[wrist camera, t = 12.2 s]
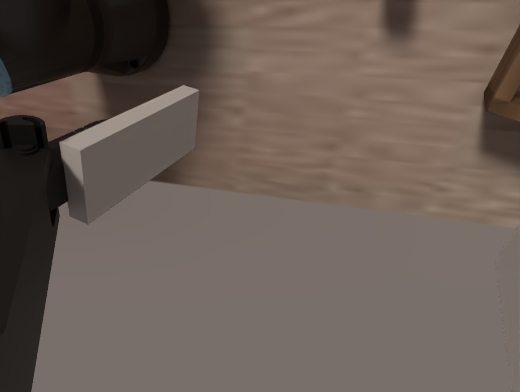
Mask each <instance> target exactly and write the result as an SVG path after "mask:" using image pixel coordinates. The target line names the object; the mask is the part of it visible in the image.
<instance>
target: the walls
mask: <svg viewBox="0 0 520 392" xmlns="http://www.w3.org/2000/svg"><path fill="white" fill-rule="evenodd" d="M519 86H520V25H519V27H518V29H517V31H516V33H515V35H514V37H513V39H512V40H511V42H510V44H509V46H508V48H507V50H506V52H505V54H504V56H503V57H502V59H501V61H500V63H499V65H498V67H497V69H496V71H495V73H494V74H493V76H492V78H491V80H490V82H489V84H488V86H487V88H486V90H485V91H484V98H485V105H486V112H490V113H493V114H496V115H499V116H502V117H505V118H509V119H512V120H515V121H518V122H520V91H517V89H518V87H519Z"/></svg>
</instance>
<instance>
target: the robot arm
mask: <svg viewBox="0 0 520 392" xmlns="http://www.w3.org/2000/svg"><path fill="white" fill-rule="evenodd" d="M167 35H168V9H167V3H166V0H0V97H5V96H7V95H9V94H12V93H16V92H19V91H22V90H25V89H29V88H32V87H35V86H39V85H42V84H45V83H49V82H52V81H55V80H59V79H62V78H65V77H69V76H72V75H75V74H78V73H82V72H92V73H99V74H107V75H114V76H126V75H131V74H134V73H138V72H141V71H143V70H146V69H147V68H149V67H150V66H152V65H153V64H154V63H155V62H156V61H157V60H158V58H159V57H160V55H161V53H162V51H163V49H164V46H165V43H166V40H167ZM198 102H199V90H197V89H194V88H191V87H188V86H185V85H183V86H181V87H179V88H176V89H174V90H172V91H170V92H168V93H165V94H163V95H161V96H159V97H157V98H154V99H152V100H150V101H148V102H146V103H144V104H141V105H139V106H137V107H135V108H133V109H130V110H128V111H126V112H124V113H122V114H119V115H117V116H115V117H113V118H111V119H105V120H100V121H95V122H93V123H90V124H88V125H86V126H84V128H82V127H81V128H79V129H77V130H75V132H70V133H68V134H66V135H63V136H61V137H59V138H57V139H54V140H52V141H50V142H48V139H47V133H46V126H45V121H43V120H42V119H40V118H38V117H34V116H28V115H16V116H10V117H5V118H3V119H0V392H31V389H32V383H33V377H34V371H35V365H36V359H37V352H38V346H39V340H40V334H41V327H42V321H43V315H44V309H45V303H46V297H47V290H48V284H49V278H50V272H51V265H52V259H53V254H54V247H55V241H56V235H57V229H58V223H59V216H60V215H59V209H58V207H59V206H61V205H62V204H64V203H66V202H67V201H68V208H69V215H70V216H71V217H73V218H75V219H78V220H80V221H82V222H84V223H86V224H89V223H91V222H92V221H94V220H95V219H96V218H98V217H99V216H101V215H102V214H103V213H105V212H106V211H108V210H109V209H110V208H112V207H113V206H114V205H116V204H117V203H119V202H120V201H121V200H123V199H124V198H126V197H127V196H128V195H130V194H131V193H133V192H134V191H135V190H137V189H138V188H140V187H141V186H142V185H144V184H145V183H146V182H148V181H149V180H151V179H152V178H154V177H155V176H156V175H158V174H159V173H161V172H162V171H163V170H165V169H166V168H168V167H169V166H170V165H172V164H173V163H175V162H176V161H177V160H179V159H180V158H182V157H183V156H184V155H186V154H187V153H189V152H190V151H191V150H193V149H194V148H195V140H196V127H197V114H198ZM495 264H496V273H497V281H498V289H499V297H500V305H501V313H502V321H503V329H504V337H505V345H506V353H507V361H508V370H509V377H510V385H511V392H520V224H519V226H518V227H517V229H516V230H515V232H514V233H513V234H512V236H511V237H510V239H509V240H508V242H507V243H506V245H505V246H504V247H503V249H502V250H501V252H500V253H499V255H498V256H497V258H496V259H495Z"/></svg>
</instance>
